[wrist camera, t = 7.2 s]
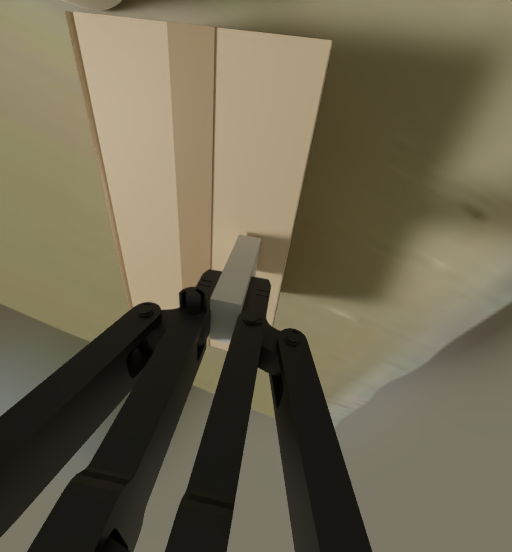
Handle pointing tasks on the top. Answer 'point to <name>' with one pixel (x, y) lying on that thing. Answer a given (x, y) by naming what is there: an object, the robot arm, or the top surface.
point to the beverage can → (94, 4)
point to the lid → (197, 144)
